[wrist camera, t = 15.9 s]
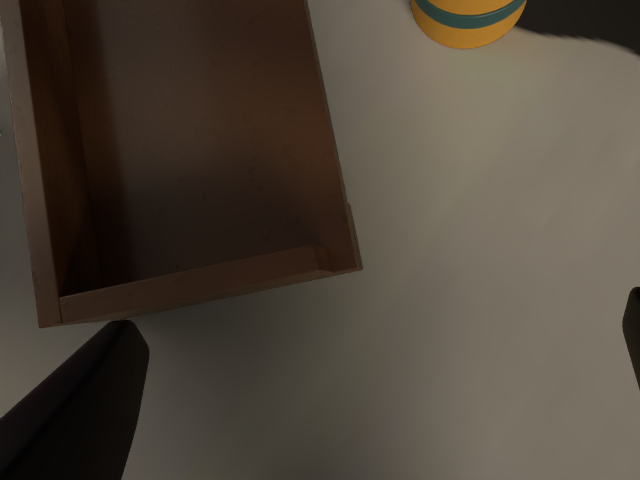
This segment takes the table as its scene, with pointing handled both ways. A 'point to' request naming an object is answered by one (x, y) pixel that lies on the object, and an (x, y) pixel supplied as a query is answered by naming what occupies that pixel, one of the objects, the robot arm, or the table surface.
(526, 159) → the table surface
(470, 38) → the doll
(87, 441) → the robot arm
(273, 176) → the wooden desk tray
